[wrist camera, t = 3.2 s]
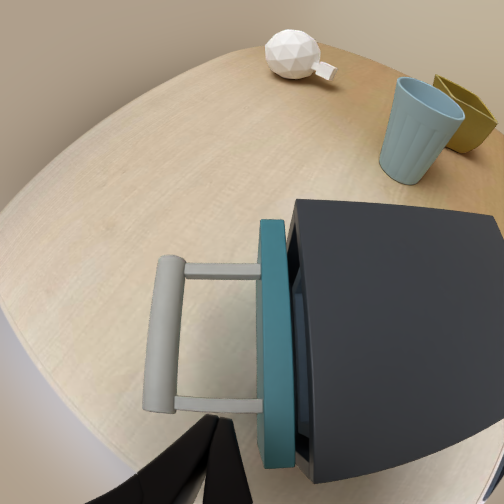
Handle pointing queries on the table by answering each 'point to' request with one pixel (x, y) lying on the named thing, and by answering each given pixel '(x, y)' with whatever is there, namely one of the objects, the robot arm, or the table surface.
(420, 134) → the cup
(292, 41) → the perfume bottle
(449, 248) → the drawer cabinet
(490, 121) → the flower pot
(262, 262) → the teal drawer
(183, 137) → the table surface
